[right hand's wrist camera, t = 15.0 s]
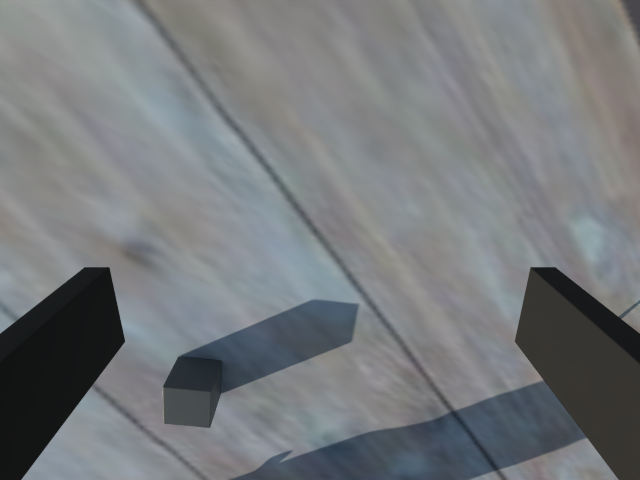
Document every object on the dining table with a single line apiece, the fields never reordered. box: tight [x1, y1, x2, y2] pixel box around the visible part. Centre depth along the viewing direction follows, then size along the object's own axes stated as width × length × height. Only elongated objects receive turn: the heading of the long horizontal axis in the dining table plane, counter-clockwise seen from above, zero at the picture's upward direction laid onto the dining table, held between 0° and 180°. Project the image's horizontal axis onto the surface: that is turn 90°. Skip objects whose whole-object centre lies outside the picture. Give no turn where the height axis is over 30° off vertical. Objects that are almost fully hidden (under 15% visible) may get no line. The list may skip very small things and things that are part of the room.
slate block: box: [163, 357, 222, 428], centre depth 45 cm, size 5×5×5 cm
